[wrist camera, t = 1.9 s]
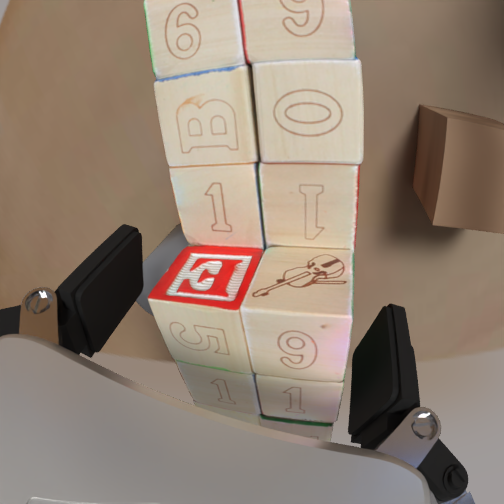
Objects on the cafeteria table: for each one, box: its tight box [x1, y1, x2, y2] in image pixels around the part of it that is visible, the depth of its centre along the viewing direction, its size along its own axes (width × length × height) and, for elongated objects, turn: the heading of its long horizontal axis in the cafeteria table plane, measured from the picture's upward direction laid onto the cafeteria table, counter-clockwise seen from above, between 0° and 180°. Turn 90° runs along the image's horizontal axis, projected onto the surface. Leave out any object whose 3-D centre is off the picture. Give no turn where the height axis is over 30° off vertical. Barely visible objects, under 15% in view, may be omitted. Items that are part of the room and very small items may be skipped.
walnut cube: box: [413, 105, 504, 234], centre depth 13 cm, size 5×5×5 cm
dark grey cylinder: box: [136, 223, 189, 316], centre depth 21 cm, size 4×4×6 cm
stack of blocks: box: [144, 0, 364, 442], centre depth 14 cm, size 21×6×12 cm, turn 6°
